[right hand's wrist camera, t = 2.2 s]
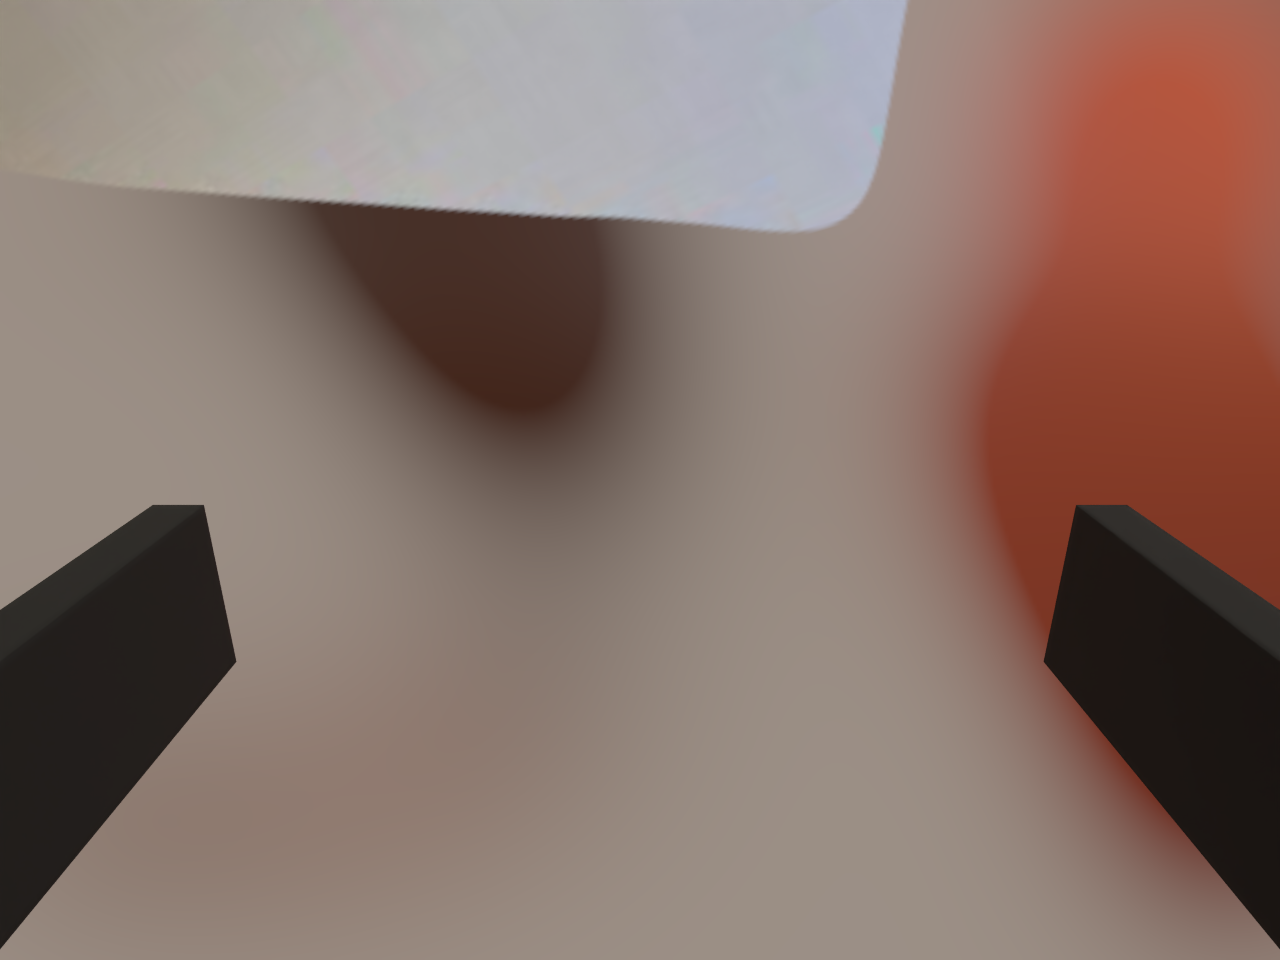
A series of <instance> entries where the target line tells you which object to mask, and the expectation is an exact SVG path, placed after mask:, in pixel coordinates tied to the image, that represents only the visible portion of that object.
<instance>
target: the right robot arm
mask: <svg viewBox="0 0 1280 960" xmlns="http://www.w3.org/2000/svg"><path fill="white" fill-rule="evenodd" d="M235 663H236V658H235V653H234V648H233V644H232V639H231V634H230V629H229V624H228V619H227V614H226V610H225V605H224V600H223V595H222V590H221V585H220V581H219V576H218V571H217V566H216V561H215V557H214V552H213V547H212V542H211V537H210V532H209V528H208V523H207V518H206V513H205V508H204V505H152V506H151V507H149V508H148V509H146V510H145V511H144V512H142V513H141V514H139V515H138V516H136V517H135V518H133V519H132V520H130V521H129V522H128V523H126V524H125V525H123V526H122V527H120V528H119V529H117V530H116V531H114V532H113V533H112V534H110V535H109V536H107V537H106V538H104V539H103V540H101V541H100V542H98V543H97V544H96V545H94V546H93V547H91V548H90V549H88V550H87V551H85V552H84V553H82V554H81V555H80V556H78V557H77V558H75V559H74V560H72V561H71V562H69V563H68V564H67V565H65V566H64V567H62V568H61V569H59V570H58V571H56V572H55V573H53V574H52V575H51V576H49V577H48V578H46V579H45V580H43V581H42V582H40V583H39V584H37V585H36V586H34V587H33V588H32V589H30V590H29V591H27V592H26V593H24V594H23V595H21V596H20V597H18V598H17V599H16V600H14V601H13V602H11V603H10V604H8V605H7V606H5V607H4V608H2V609H1V610H0V949H1V947H2V946H3V945H4V944H5V943H6V941H7V940H8V939H9V938H10V936H11V935H12V934H13V933H14V932H15V930H16V929H17V928H18V927H19V926H20V924H21V923H22V922H23V921H24V920H25V918H26V917H27V916H28V915H29V913H30V912H31V911H32V910H33V909H34V907H35V906H36V905H37V904H38V902H39V901H40V900H41V899H42V898H43V896H44V895H45V894H46V893H47V891H48V890H49V889H50V888H51V887H52V885H53V884H54V883H55V882H56V881H57V879H58V878H59V877H60V876H61V874H62V873H63V872H64V871H65V870H66V868H67V867H68V866H69V865H70V863H71V862H72V861H73V860H74V859H75V857H76V856H77V855H78V854H79V853H80V851H81V850H82V849H83V848H84V846H85V845H86V844H87V843H88V842H89V840H90V839H91V838H92V837H93V835H94V834H95V833H96V832H97V831H98V829H99V828H100V827H101V826H102V825H103V823H104V822H105V821H106V820H107V818H108V817H109V816H110V815H111V814H112V812H113V811H114V810H115V809H116V807H117V806H118V805H119V804H120V803H121V801H122V800H123V799H124V798H125V796H126V795H127V794H128V793H129V792H130V790H131V789H132V788H133V787H134V786H135V784H136V783H137V782H138V781H139V779H140V778H141V777H142V776H143V775H144V773H145V772H146V771H147V770H148V769H149V767H150V766H151V765H152V764H153V762H154V761H155V760H156V759H157V758H158V756H159V755H160V754H161V753H162V751H163V750H164V749H165V748H166V747H167V745H168V744H169V743H170V742H171V741H172V739H173V738H174V737H175V736H176V734H177V733H178V732H179V731H180V730H181V728H182V727H183V726H184V725H185V723H186V722H187V721H188V720H189V719H190V717H191V716H192V715H193V714H194V713H195V711H196V710H197V709H198V708H199V706H200V705H201V704H202V703H203V702H204V700H205V699H206V698H207V697H208V695H209V694H210V693H211V692H212V691H213V689H214V688H215V687H216V686H217V685H218V683H219V682H220V681H221V680H222V678H223V677H224V676H225V675H226V674H227V672H228V671H229V670H230V669H231V667H232V666H233V665H234V664H235ZM1044 663H1045V664H1046V665H1047V666H1048V667H1049V669H1050V670H1051V671H1052V672H1053V674H1054V675H1055V676H1056V677H1057V678H1058V680H1059V681H1060V682H1061V683H1062V685H1063V686H1064V687H1065V688H1066V689H1067V691H1068V692H1069V693H1070V694H1071V695H1072V697H1073V698H1074V699H1075V700H1076V702H1077V703H1078V704H1079V705H1080V706H1081V708H1082V709H1083V710H1084V711H1085V713H1086V714H1087V715H1088V716H1089V717H1090V719H1091V720H1092V721H1093V722H1094V723H1095V725H1096V726H1097V727H1098V728H1099V730H1100V731H1101V732H1102V733H1103V734H1104V736H1105V737H1106V738H1107V739H1108V741H1109V742H1110V743H1111V744H1112V745H1113V747H1114V748H1115V749H1116V750H1117V751H1118V753H1119V754H1120V755H1121V756H1122V758H1123V759H1124V760H1125V761H1126V762H1127V764H1128V765H1129V766H1130V767H1131V769H1132V770H1133V771H1134V772H1135V773H1136V775H1137V776H1138V777H1139V778H1140V779H1141V781H1142V782H1143V783H1144V784H1145V786H1146V787H1147V788H1148V789H1149V790H1150V792H1151V793H1152V794H1153V795H1154V797H1155V798H1156V799H1157V800H1158V801H1159V803H1160V804H1161V805H1162V806H1163V808H1164V809H1165V810H1166V811H1167V812H1168V814H1169V815H1170V816H1171V817H1172V818H1173V820H1174V821H1175V822H1176V823H1177V825H1178V826H1179V827H1180V828H1181V829H1182V831H1183V832H1184V833H1185V834H1186V836H1187V837H1188V838H1189V839H1190V840H1191V842H1192V843H1193V844H1194V845H1195V846H1196V848H1197V849H1198V850H1199V851H1200V853H1201V854H1202V855H1203V856H1204V857H1205V859H1206V860H1207V861H1208V862H1209V863H1210V865H1211V866H1212V867H1213V868H1214V869H1215V871H1216V872H1217V873H1218V874H1219V876H1220V877H1221V878H1222V879H1223V881H1224V882H1225V883H1226V884H1227V885H1228V887H1229V888H1230V889H1231V890H1232V891H1233V893H1234V894H1235V895H1236V896H1237V898H1238V899H1239V900H1240V901H1241V902H1242V904H1243V905H1244V906H1245V907H1246V909H1247V910H1248V911H1249V912H1250V913H1251V914H1252V916H1253V917H1254V918H1255V919H1256V921H1257V922H1258V923H1259V924H1260V926H1261V927H1262V928H1263V929H1264V930H1265V932H1266V933H1267V934H1268V935H1269V936H1270V938H1271V939H1272V940H1273V941H1274V943H1275V944H1276V945H1277V946H1278V948H1279V949H1280V610H1279V609H1278V608H1276V607H1275V606H1273V605H1272V604H1270V603H1269V602H1267V601H1266V600H1264V599H1263V598H1262V597H1260V596H1259V595H1257V594H1256V593H1254V592H1253V591H1251V590H1250V589H1248V588H1247V587H1246V586H1244V585H1243V584H1241V583H1240V582H1238V581H1237V580H1235V579H1234V578H1232V577H1231V576H1230V575H1228V574H1227V573H1225V572H1224V571H1222V570H1221V569H1219V568H1218V567H1216V566H1215V565H1213V564H1212V563H1211V562H1209V561H1208V560H1206V559H1205V558H1203V557H1202V556H1200V555H1199V554H1198V553H1196V552H1195V551H1193V550H1192V549H1190V548H1189V547H1187V546H1186V545H1184V544H1183V543H1182V542H1180V541H1179V540H1177V539H1176V538H1174V537H1173V536H1171V535H1170V534H1168V533H1167V532H1165V531H1164V530H1163V529H1161V528H1160V527H1158V526H1157V525H1155V524H1154V523H1152V522H1151V521H1149V520H1148V519H1147V518H1145V517H1144V516H1142V515H1141V514H1139V513H1138V512H1136V511H1135V510H1134V509H1132V508H1131V507H1129V506H1128V505H1076V508H1075V513H1074V518H1073V523H1072V528H1071V533H1070V537H1069V542H1068V547H1067V552H1066V557H1065V561H1064V566H1063V571H1062V576H1061V581H1060V586H1059V590H1058V595H1057V600H1056V605H1055V610H1054V614H1053V619H1052V624H1051V629H1050V634H1049V639H1048V643H1047V648H1046V653H1045V658H1044Z"/></svg>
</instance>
